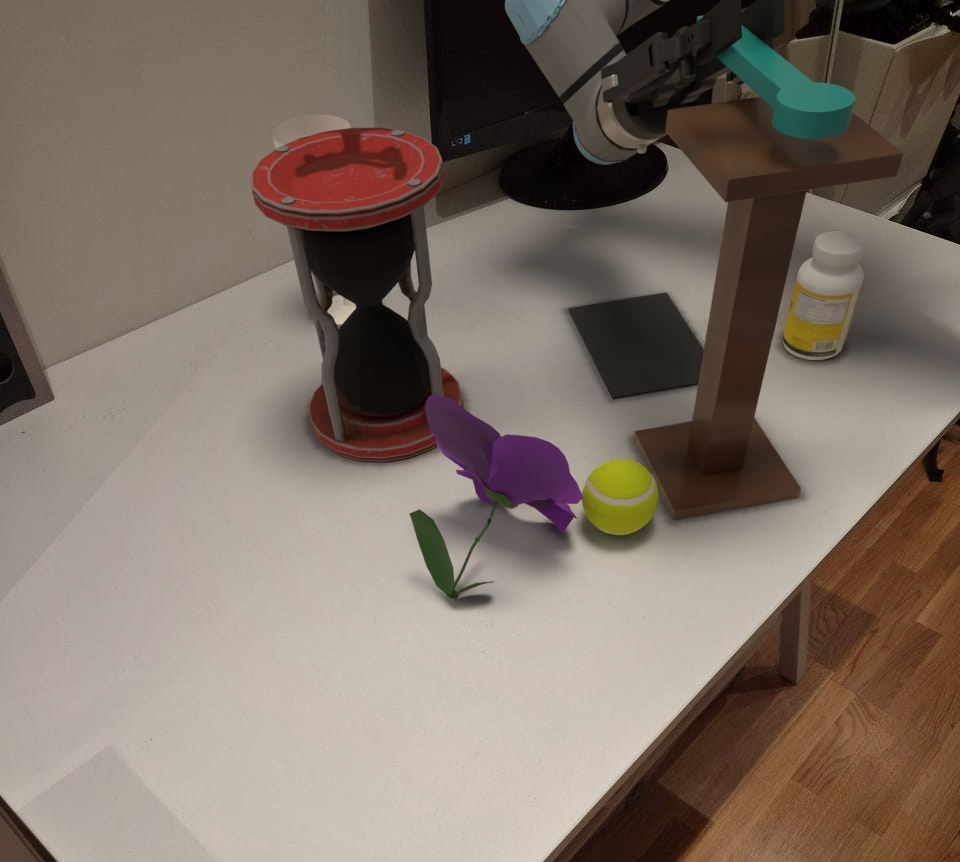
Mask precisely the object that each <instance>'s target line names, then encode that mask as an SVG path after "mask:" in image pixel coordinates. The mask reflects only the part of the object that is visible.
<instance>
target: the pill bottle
mask: <svg viewBox="0 0 960 862" xmlns="http://www.w3.org/2000/svg"><path fill="white" fill-rule="evenodd" d="M864 247H865V243H864V240H862V238H861V237H860V236H858V235H856V234H853V233H851V232H848V231H841V230H839V231H837V230H836V231H827V232H823V233H821V234H819V235H817V236H816V238H815V240H814V243H813V247H812V251H811V256H812V257H810V258H808V259H806V260H805V261H804V262H803V263H802V264H801V265H800V267H799V268H798V272H797V274H796V278H795V283H794V287H793V292H792V296H791V300H790V304H789V309H788V312H787V317H786V321H785V325H784V330H783V334H782V344H783V346H784V348H785V350H786V351H787V352H788V353H790V354H791V355H793V356H794V357H797V358H800V359H803V360H807V361H824V360H829V359H830V358H833V357H835V356H837V355H838V354H839V353H841V352H842V349H844V346H845V344H846V340H847V336H848V334H849V330H850V328H851V324H852V321H853V317H854V314H855V311H856V307H857V304H858V301H859V297H860V294H861V290H862V287H863V283H864V280H865V274H864V273H865V272H864V270H863V268H862V266H861V265H860V263H858V262H860V260H861V257H862V256H863V255H862V254H863V251H864Z"/></svg>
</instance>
